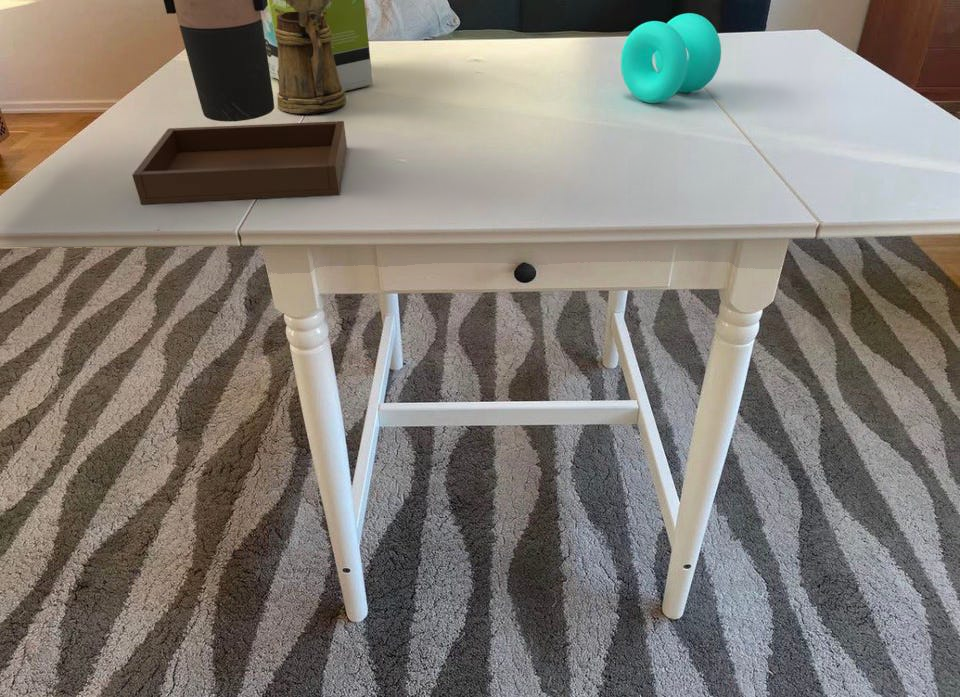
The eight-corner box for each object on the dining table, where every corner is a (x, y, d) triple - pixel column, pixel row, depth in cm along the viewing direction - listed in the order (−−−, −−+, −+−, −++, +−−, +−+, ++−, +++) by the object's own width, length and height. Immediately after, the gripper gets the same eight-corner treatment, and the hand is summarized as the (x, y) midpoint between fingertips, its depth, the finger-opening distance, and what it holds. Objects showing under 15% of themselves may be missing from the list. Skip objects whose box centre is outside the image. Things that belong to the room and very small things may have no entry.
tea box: (265, 77, 109) (245, -33, 100) (324, 66, 114) (310, -40, 105) (313, 99, 99) (295, -21, 91) (375, 85, 104) (364, -30, 96)
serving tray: (140, 204, 72) (131, 174, 70) (175, 154, 83) (167, 128, 81) (339, 194, 73) (335, 165, 72) (347, 147, 84) (343, 120, 83)
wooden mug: (296, 128, 89) (270, -35, 79) (271, 100, 99) (245, -48, 89) (365, 117, 93) (348, -41, 82) (334, 91, 103) (315, -53, 92)
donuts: (718, 97, 98) (732, 17, 92) (671, 113, 93) (683, 29, 87) (659, 82, 104) (669, 6, 99) (612, 95, 99) (620, 17, 93)
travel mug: (205, 101, 77) (153, -123, 65) (279, 97, 78) (240, -125, 66) (195, 125, 71) (136, -118, 59) (275, 119, 72) (232, -121, 60)
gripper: (291, -309, 59) (329, -2, 72) (33, -307, 58) (120, 5, 71) (279, -325, 53) (322, 13, 66) (-10, -324, 52) (94, 21, 65)
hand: (218, 8), depth 69 cm, fingers closed on travel mug, 7 cm apart
